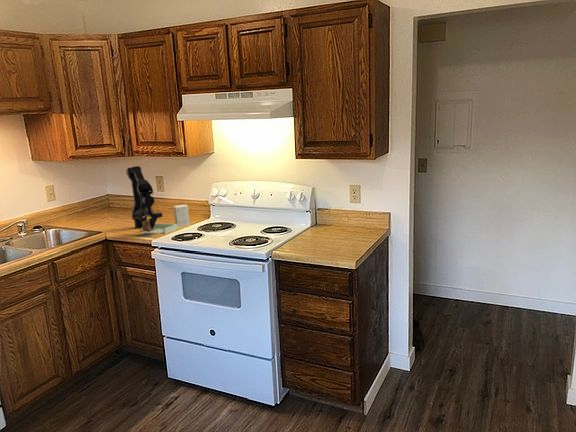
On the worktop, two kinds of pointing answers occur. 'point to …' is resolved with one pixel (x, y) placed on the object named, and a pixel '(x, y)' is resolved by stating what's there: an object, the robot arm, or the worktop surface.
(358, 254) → the worktop surface
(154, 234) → the mat
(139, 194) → the robot arm
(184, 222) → the small box
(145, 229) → the walnut block
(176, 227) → the crate
